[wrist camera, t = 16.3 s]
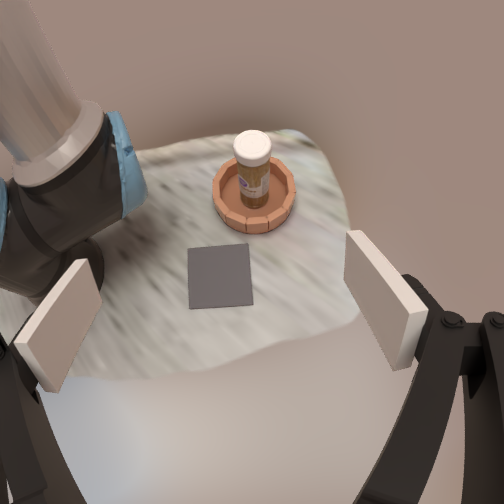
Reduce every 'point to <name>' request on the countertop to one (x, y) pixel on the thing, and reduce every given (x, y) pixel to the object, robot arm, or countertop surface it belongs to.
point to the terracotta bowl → (253, 218)
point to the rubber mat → (219, 276)
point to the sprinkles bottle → (253, 167)
